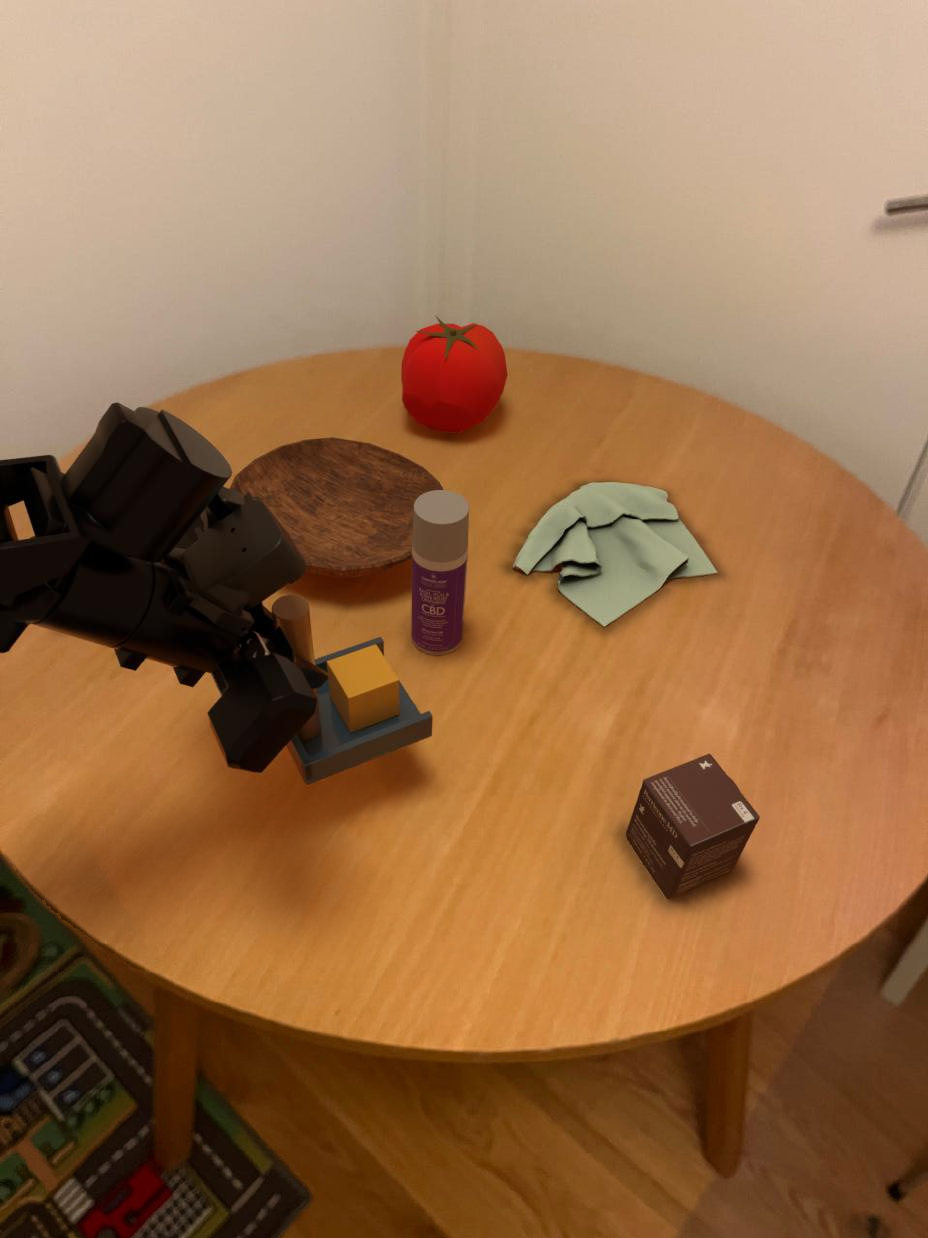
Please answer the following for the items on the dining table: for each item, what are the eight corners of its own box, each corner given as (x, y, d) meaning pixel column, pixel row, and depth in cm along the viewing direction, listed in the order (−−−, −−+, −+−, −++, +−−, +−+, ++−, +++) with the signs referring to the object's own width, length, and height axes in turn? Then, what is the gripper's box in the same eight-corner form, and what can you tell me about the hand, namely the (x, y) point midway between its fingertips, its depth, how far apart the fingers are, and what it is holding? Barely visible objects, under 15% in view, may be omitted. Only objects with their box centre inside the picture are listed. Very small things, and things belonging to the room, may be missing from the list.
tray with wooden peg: (306, 786, 65) (290, 661, 56) (262, 699, 70) (241, 572, 61) (432, 736, 68) (437, 611, 59) (381, 656, 74) (378, 531, 65)
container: (417, 659, 82) (419, 528, 71) (406, 623, 85) (406, 492, 74) (468, 651, 83) (477, 520, 72) (455, 615, 86) (462, 485, 75)
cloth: (670, 481, 103) (675, 463, 101) (739, 617, 87) (745, 599, 86) (490, 490, 100) (492, 471, 98) (529, 633, 85) (531, 614, 83)
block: (350, 733, 68) (348, 698, 65) (329, 696, 70) (326, 660, 67) (399, 715, 69) (399, 679, 66) (377, 679, 71) (376, 643, 69)
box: (623, 833, 70) (640, 777, 65) (688, 807, 72) (710, 750, 67) (667, 901, 66) (690, 847, 61) (735, 871, 68) (762, 816, 63)
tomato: (376, 412, 110) (374, 322, 102) (462, 379, 116) (466, 291, 108) (440, 460, 104) (443, 368, 95) (527, 422, 110) (537, 332, 102)
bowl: (320, 454, 103) (317, 416, 100) (483, 529, 95) (486, 490, 92) (191, 544, 92) (182, 504, 88) (364, 639, 83) (362, 599, 80)
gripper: (265, 598, 45) (455, 675, 56) (160, 408, 56) (336, 506, 68) (134, 754, 47) (342, 797, 59) (59, 543, 59) (246, 614, 70)
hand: (316, 667), depth 64 cm, fingers closed on tray with wooden peg, 2 cm apart
